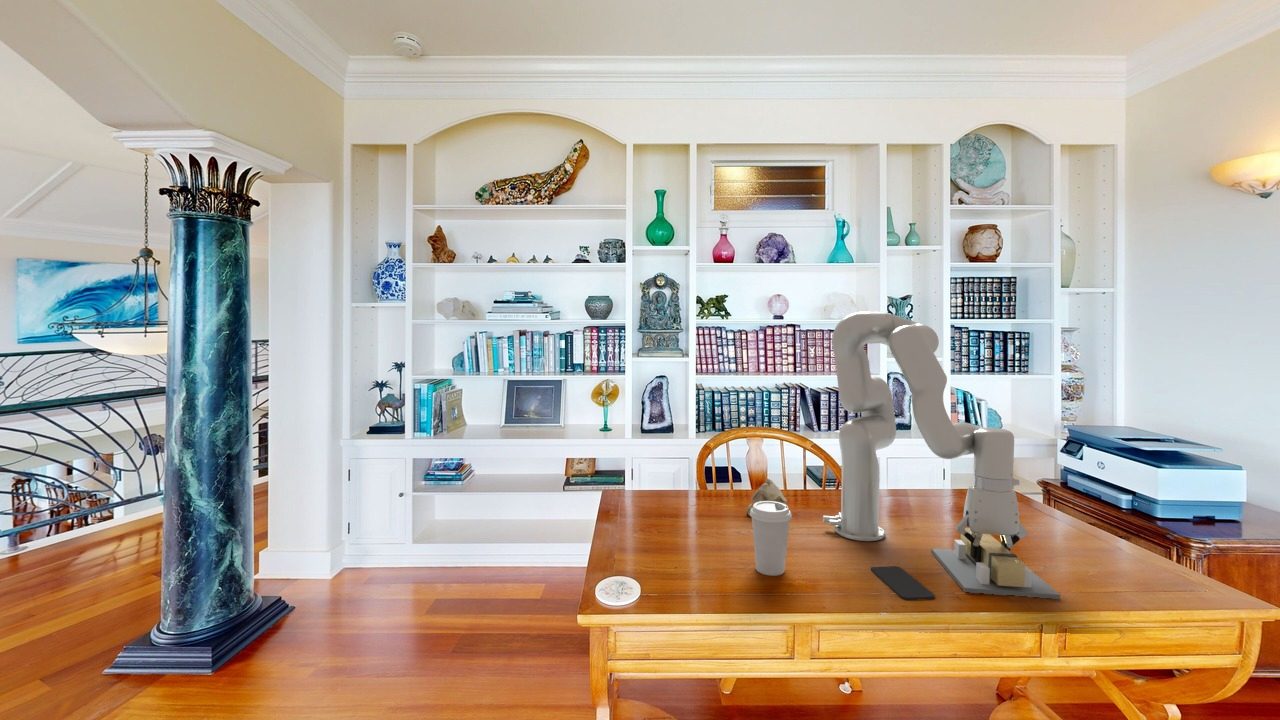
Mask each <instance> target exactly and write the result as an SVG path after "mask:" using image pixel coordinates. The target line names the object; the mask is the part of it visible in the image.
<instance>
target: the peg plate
mask: <svg viewBox="0 0 1280 720" xmlns="http://www.w3.org/2000/svg"><path fill="white" fill-rule="evenodd" d="M931 554H932V555H933V556H934V557H935V559H936V560H937V561H938V562H939V563H940V564H941V565H942V567H943V568H944V570H945V571H947V573H948V574H949V575H950V577H951V578H952V579H953V580H954V581H955V582H957V583H956V584H957V585H958V586H959V587H960V588H962V589H963V590H962V589H961V590H962V591H963V592H964V593H965V592H970V593H969V594H979V593H984V594H983V595H992V594H994V595H993V596H1006V595H1015V596H1014V597H1019V596H1027V597H1026V598H1033V597H1040V598H1039V599H1046V598H1052V599H1051V600H1059V599H1060V600H1061V594H1060V593H1059V592H1057V590H1055V589H1054V588H1052V586H1050V585H1049V584H1048V583H1047V582H1045V581H1044V579H1042V578H1041V577H1040V576H1038V574H1036V573H1035V572H1034V571H1033V570H1032V569H1031V568H1029V567H1028V566H1027V565H1026V564H1025V578H1024V587H1015V586H1000V585H997V584H996V583H995V582H994V581H993V580H992V579H991V578H990V568H989V567H988V566H987V565H986V564H985V563H980V562H976V563H975V562H974V561H973V560H972V559H971V558H970V557H969V556H968V555H967V554H966V545H965V544H964V543H963V542H962V541H961V539H953V549H947V548H946V549H945V548H931ZM1029 596H1030V597H1029Z"/></svg>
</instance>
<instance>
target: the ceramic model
mask: <svg viewBox="0 0 1280 720" xmlns="http://www.w3.org/2000/svg"><path fill="white" fill-rule="evenodd" d="M751 501H753V502H752V503H753V504H752V503H750V504H749V505H748V506H747V507H746V512H747V515H748V516H750V511H751V509H752V508H753V505H754V504H755V503H756V502H760V501H775V502H780V503H783V504H785V505H787V502H788V500H787V498H786V497H785V496H784V494H783V492H782V490H781V489H780V488H779V487H778V486H777V485H776V483H774V481H773V480H771V479H769V478H766V479H765V482H764V483H762V484H760V486H759V488H758V489H756V491H755V492H754V493H753V494H752V495H751Z"/></svg>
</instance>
